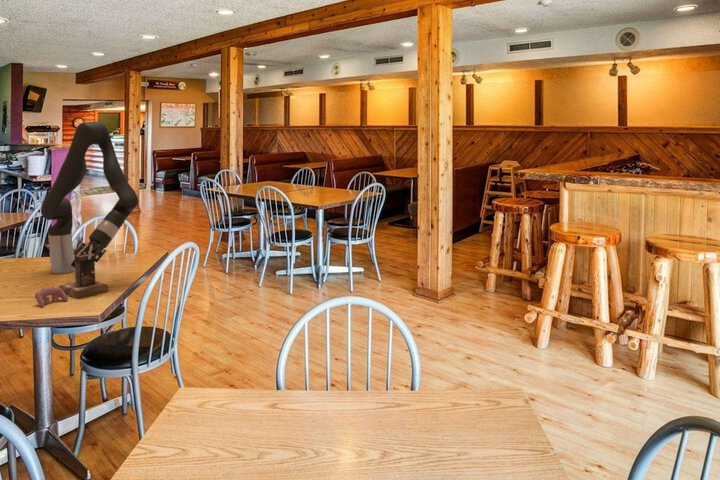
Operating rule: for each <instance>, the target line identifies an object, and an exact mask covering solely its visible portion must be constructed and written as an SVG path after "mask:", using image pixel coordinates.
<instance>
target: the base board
mask: <svg viewBox="0 0 720 480" xmlns="http://www.w3.org/2000/svg"><path fill="white" fill-rule="evenodd" d="M95 283H96V284H92V285H87V286H83V287H80V286H77V285H76V281H75V282H70V283H67V284H62V285H59V288H61V289H62V290H63V291H64V293H65V294H66V296H67V297H71V298H75V299H78V300H80V299H84V298H89V297H92V296H95V295H96V296H97V295H102V294H105V293H109V285H108V284H107V283H104V282H100V281H97V280H95Z"/></svg>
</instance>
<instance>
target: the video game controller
mask: <svg viewBox="0 0 720 480" xmlns="http://www.w3.org/2000/svg"><path fill="white" fill-rule="evenodd" d="M50 296H51V298H49V297H50ZM59 298H61V300H62V301H64V302H68V299H69V298H68V295H66V294H65V293H64V291H63V290H62V289H61V288H60V286H48V287H45V288H42V289H40V290H38V291H37V292H35V294H34V299H35V301H36V302H37V304H38V305H39V306H40V307H42V308H44V307H45V305H47V304H49V303H50V302H51V301H52V302H53V303H56V302H58V301H59Z"/></svg>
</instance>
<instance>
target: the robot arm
mask: <svg viewBox="0 0 720 480" xmlns="http://www.w3.org/2000/svg"><path fill="white" fill-rule="evenodd" d="M92 145H98V147H99V149H100V151H101V153H102V160H103V161H102V167H103V168H102V170H103V171H102V172H103V174H104V177H105V179H106V182H107V183H108V185H109V187H110V189H111V190H112V192H115V193H116V196H117V197H118V199H117V201H116V202H115V204H114V206H113V207H112V208H111V210H110V211H109V212H108V213H107V214H106V215H105V216H104V218H103V219H102V220H101V221H100V222H99V223H98V225H97V226H96V227H95V229H94V230H93V231H92V232H91V234H90V235H89V237H88V240H89V241H88V242H87V243H85V242H82V243H81V244H80V245H79V247H78V248H77V250H76V251H75V252H74V246H73V245H74V244H73V243H74V242H73V236H72V234H73V233H72V229H73V224H74V223H73V206H72V203H71V202H70V200H69V199H68V198H66V197H67V196H68V195H70V193H72V192H73V191H74V190H75V189H76V188H77V187H78V186H80V184H81V183H82V181H83V179H84V177H85V175H86V173H87V162H86V157H85V156H86V154H87V151H88V149H89V148H90V147H91V146H92ZM138 205H139V197H138V195H137V193H136V192H135V190H134V189H133V188H132V186H131V185H130V184H129V182H128V180H127V177H126V176H125V173H124V171H123V170H122V168H121V166H120V162H119V160H118V157H117V154H116V150H115V148H114V145H113V141H112V138H111V135H110V132H109V130H108V128H107V126H106V124H105V123H103V122H101V121H83V122H81V123H79V124H78V125H77V126H76V128H75V131H74V134H73V137H72V141H71V144H70V147H69V150H68V152H67V153H66V156H65V159H64V160H63V163H62V165H61V166H60V169H59V170H58V173H57V176H56V178H55V180H54V182H53V184H52V187H51V188H50V190H49V191H48V193H47V195H46V196H45V198H44V199H43V201H42V203H41V206H40V213H41V216H42V218H44V219H45V220H49V221H54V220H55V221H56V222H55V223H54V224H53V225H51V226H50V227H48V229H47V236H48V237H47V238H48V246H49V259H50V260H49V261H50V269H51V270H50V272H51V273H52V274H56V275H57V274H58V275H59V274H67V273H73V272H75V261H74V256H76V255H81V254H88V255H89V257H88V260H86V261H85V263H84V264H83V265H82V267H81V268H82V269H84V270H87V269H88V268H89V266H90V265H91V264H92V263H98V262H99V261H100V260H101V258H102V257H103V255H105V254H106V252H107V249H106V248H107V247H108V246H109V245H110V243H111V242H112V240H113V239H114V238H115V236H116V235H117V233H118V231H119V230H120V229H121V227H122V226H123V225H124V224H125V222H126V220H127V218H128V217H129V216H130V215H131V214H132V212H133V211H134V210H135V208H137V206H138ZM91 257H92V258H91Z"/></svg>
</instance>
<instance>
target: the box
mask: <svg viewBox="0 0 720 480" xmlns="http://www.w3.org/2000/svg"><path fill="white" fill-rule="evenodd" d="M88 257H89V255H88V254H81V255H76V256H75V255H74V261H75V271H74V275H75V282H76V285H77V286H80V287H83V286H87V285H92V284H96V283H95V281H96V267H95V265H96V262H94V263H92V264H91V265H90V266H89V268H88V269H87V270H84V269H82V268H81V267H82V265H83V264H84V263H85V261H86V260H88ZM91 258H92V257H91Z"/></svg>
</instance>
